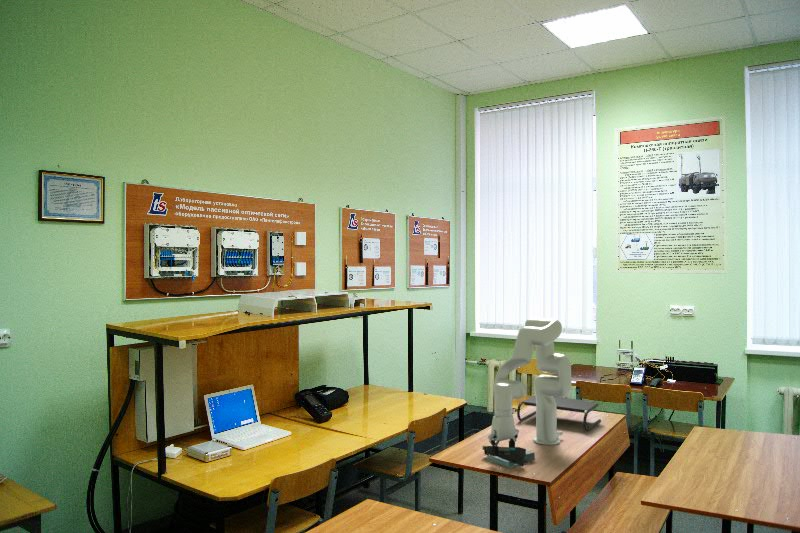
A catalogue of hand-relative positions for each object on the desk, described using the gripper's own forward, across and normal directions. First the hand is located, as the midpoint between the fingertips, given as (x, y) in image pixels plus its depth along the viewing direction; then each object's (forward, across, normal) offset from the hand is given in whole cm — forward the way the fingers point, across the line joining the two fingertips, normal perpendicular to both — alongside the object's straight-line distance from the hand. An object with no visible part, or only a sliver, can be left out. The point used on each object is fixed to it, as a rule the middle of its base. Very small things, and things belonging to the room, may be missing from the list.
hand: (503, 452), depth 244 cm
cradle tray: (+4, 0, 0) cm, 4 cm away
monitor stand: (+5, -71, -30) cm, 77 cm away
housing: (+4, -10, +1) cm, 11 cm away
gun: (+3, +1, 0) cm, 3 cm away
